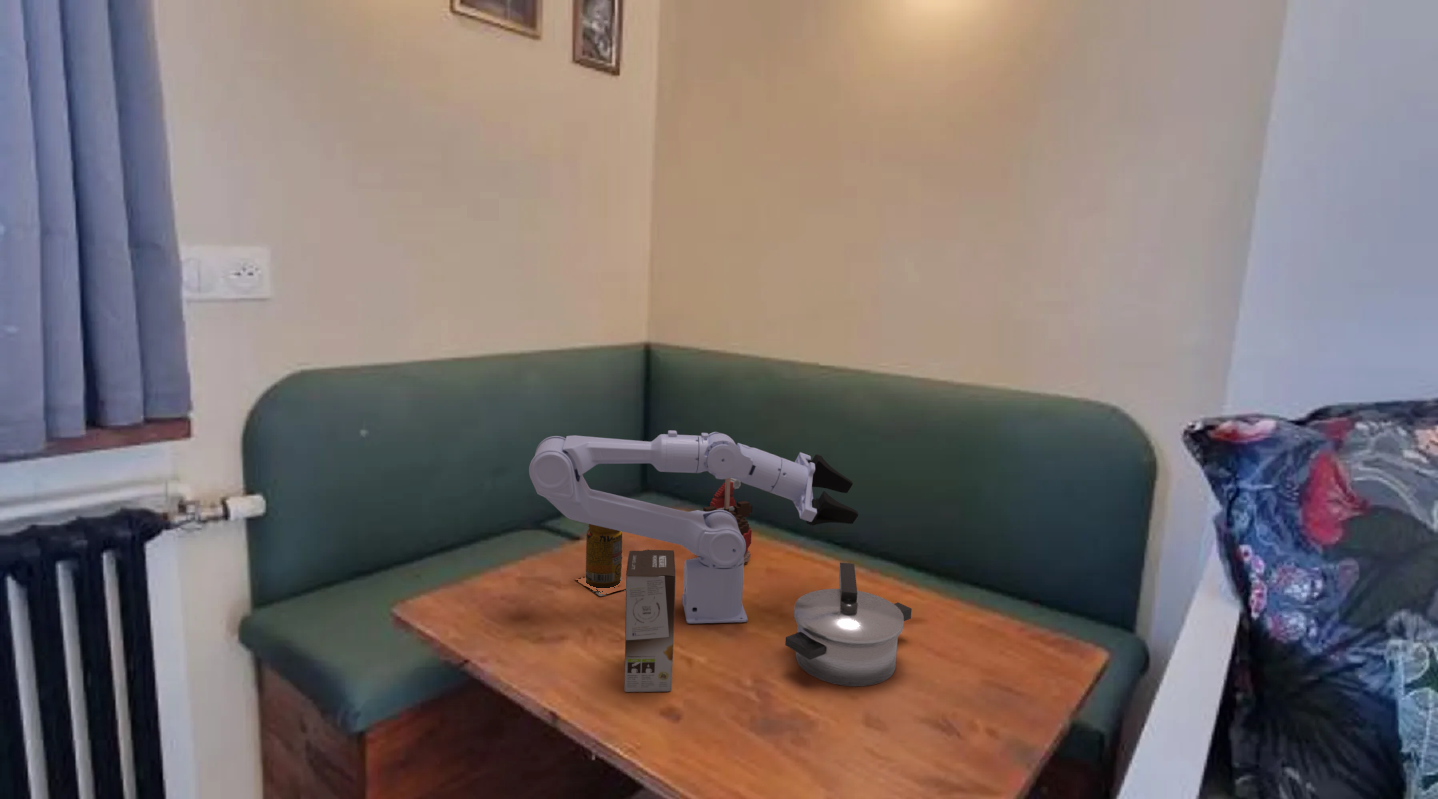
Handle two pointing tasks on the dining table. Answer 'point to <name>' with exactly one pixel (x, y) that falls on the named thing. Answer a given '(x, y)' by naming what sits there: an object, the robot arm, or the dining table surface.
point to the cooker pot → (845, 658)
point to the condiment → (603, 557)
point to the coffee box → (649, 620)
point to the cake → (733, 509)
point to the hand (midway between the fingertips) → (852, 502)
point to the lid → (848, 613)
